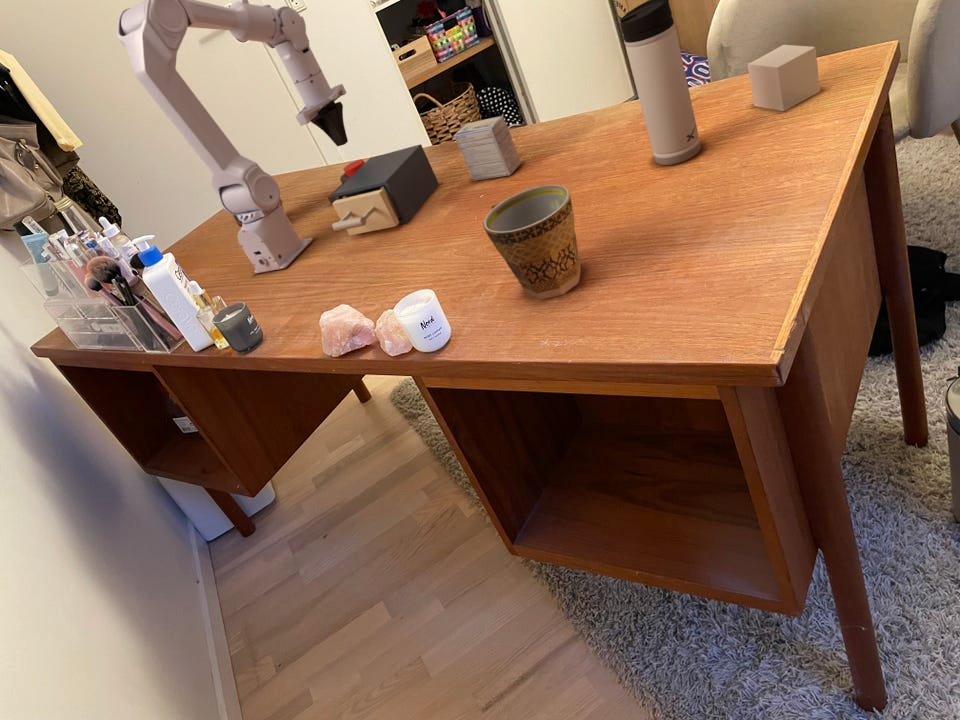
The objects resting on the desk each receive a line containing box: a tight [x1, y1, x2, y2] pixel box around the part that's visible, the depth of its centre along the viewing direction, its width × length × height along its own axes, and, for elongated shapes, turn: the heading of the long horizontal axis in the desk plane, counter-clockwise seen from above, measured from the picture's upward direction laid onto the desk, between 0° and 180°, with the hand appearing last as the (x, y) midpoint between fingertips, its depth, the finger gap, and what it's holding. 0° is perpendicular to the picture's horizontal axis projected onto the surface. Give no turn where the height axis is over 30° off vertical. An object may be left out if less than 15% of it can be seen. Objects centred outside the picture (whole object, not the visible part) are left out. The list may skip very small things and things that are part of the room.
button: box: [343, 159, 366, 177], centre depth 138 cm, size 4×4×2 cm
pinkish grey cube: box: [747, 44, 821, 112], centre depth 93 cm, size 6×6×6 cm
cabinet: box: [334, 143, 440, 226], centre depth 119 cm, size 13×11×8 cm
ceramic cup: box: [482, 184, 582, 300], centre depth 78 cm, size 13×10×10 cm
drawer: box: [331, 185, 400, 236], centre depth 116 cm, size 17×10×6 cm, turn 157°
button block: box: [327, 161, 367, 206], centre depth 139 cm, size 12×10×4 cm
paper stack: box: [453, 115, 522, 182], centre depth 114 cm, size 8×4×9 cm, turn 58°
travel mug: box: [619, 0, 702, 166], centre depth 89 cm, size 6×7×20 cm
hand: (342, 144), depth 135 cm, fingers closed
